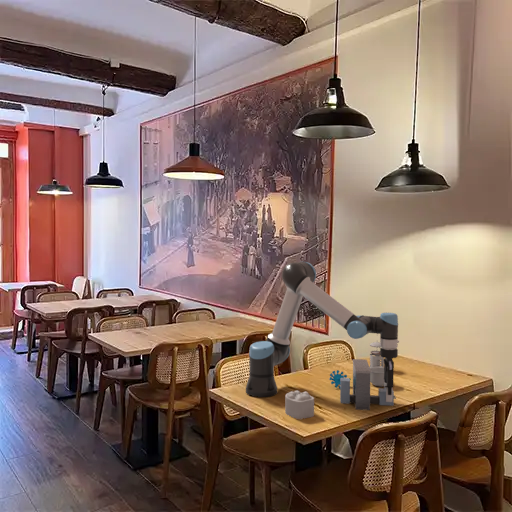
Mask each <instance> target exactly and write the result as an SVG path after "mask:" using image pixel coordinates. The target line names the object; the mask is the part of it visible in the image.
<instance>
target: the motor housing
mask: <svg viewBox="0 0 512 512" xmlns="http://www.w3.org/2000/svg"><path fill="white" fill-rule="evenodd" d="M370 373H371V370H370V364H369V362H368V360H367V359H364V358H363V359H360V358H357V359H356V358H355V359H352V394H353V395H355V403H354V407H355V410H358V411H370V410H371V404H370V395H371V382H370Z"/></svg>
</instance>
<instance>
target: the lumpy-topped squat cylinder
mask: <svg viewBox="0 0 512 512" xmlns="http://www.w3.org/2000/svg"><path fill="white" fill-rule="evenodd" d="M284 398H285V399H284V400H285V402H284V403H285V404H284V405H285V406H284V408H285V409H284V411H285V415H287V416H288V415H289V417H290V416H291V417H290V418H292V417H293V419H295V418H296V419H295V420H304V419H307V418H313V417H314V416H315V397H314V396H311V395H310V393H309V392H308V391H303V392H301V391H300V390H294V391H293V390H292V391H289V392H287V393H286V394H285V397H284ZM303 418H304V419H303Z"/></svg>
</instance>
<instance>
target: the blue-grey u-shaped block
mask: <svg viewBox="0 0 512 512" xmlns="http://www.w3.org/2000/svg"><path fill="white" fill-rule="evenodd" d="M350 379H351V378H350ZM350 379H349V377H347V378H345V377H344V378H340V385H339V387H340V389H339V390H340V391H339V392H340V395H339V396H340V397H339V400H340V404H355V395H353V393H352V394H351V380H350ZM377 389H378V392H377V393H378V394H377V395H376V394H375V395H374V394H373V395H371V394H370V405H371V404H372V405H379V406H392V407H393V406H394V405H395V404H394V401H395V400H397V397H396V395H395V394H394V393H395V392H394V391H393V401H392V402H386V388H384V387H383V388H382V387H378V388H377Z"/></svg>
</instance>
